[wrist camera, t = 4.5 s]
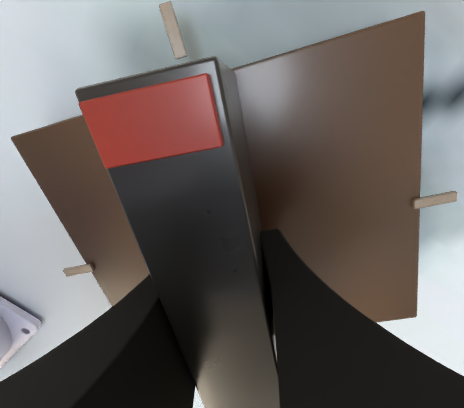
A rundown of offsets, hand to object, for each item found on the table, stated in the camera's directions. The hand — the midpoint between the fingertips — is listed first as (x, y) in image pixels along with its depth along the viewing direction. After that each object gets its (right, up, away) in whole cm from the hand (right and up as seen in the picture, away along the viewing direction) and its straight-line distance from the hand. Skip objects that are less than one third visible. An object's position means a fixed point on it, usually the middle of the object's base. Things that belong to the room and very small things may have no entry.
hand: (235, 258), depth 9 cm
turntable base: (0, +1, +3) cm, 3 cm away
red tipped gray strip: (0, +1, +1) cm, 1 cm away
